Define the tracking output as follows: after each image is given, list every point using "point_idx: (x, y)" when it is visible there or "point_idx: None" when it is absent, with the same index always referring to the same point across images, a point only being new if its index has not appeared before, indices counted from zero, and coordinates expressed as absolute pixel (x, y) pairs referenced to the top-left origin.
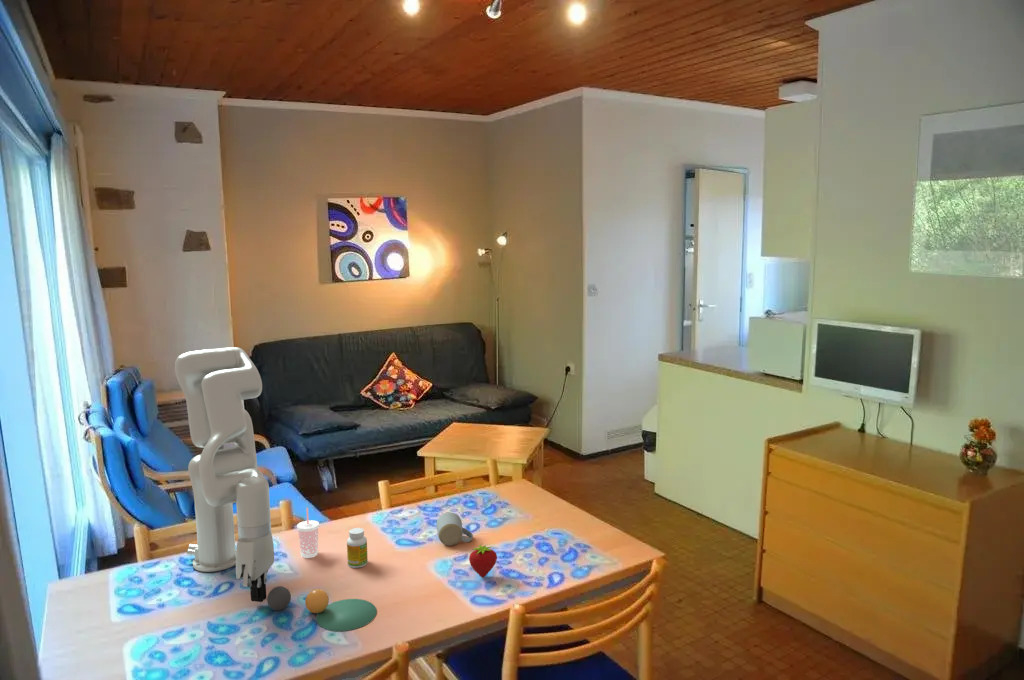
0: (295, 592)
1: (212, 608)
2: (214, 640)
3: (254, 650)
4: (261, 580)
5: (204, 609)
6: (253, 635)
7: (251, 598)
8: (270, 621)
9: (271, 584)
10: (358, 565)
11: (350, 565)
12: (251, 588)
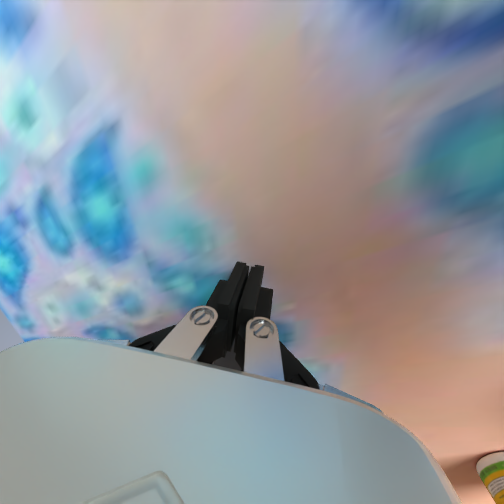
0: (340, 351)
1: (209, 70)
2: (44, 212)
3: (66, 321)
4: (240, 365)
5: (192, 21)
6: (108, 304)
7: (236, 266)
8: (175, 324)
9: (429, 265)
10: (481, 476)
11: (493, 463)
12: (222, 297)
